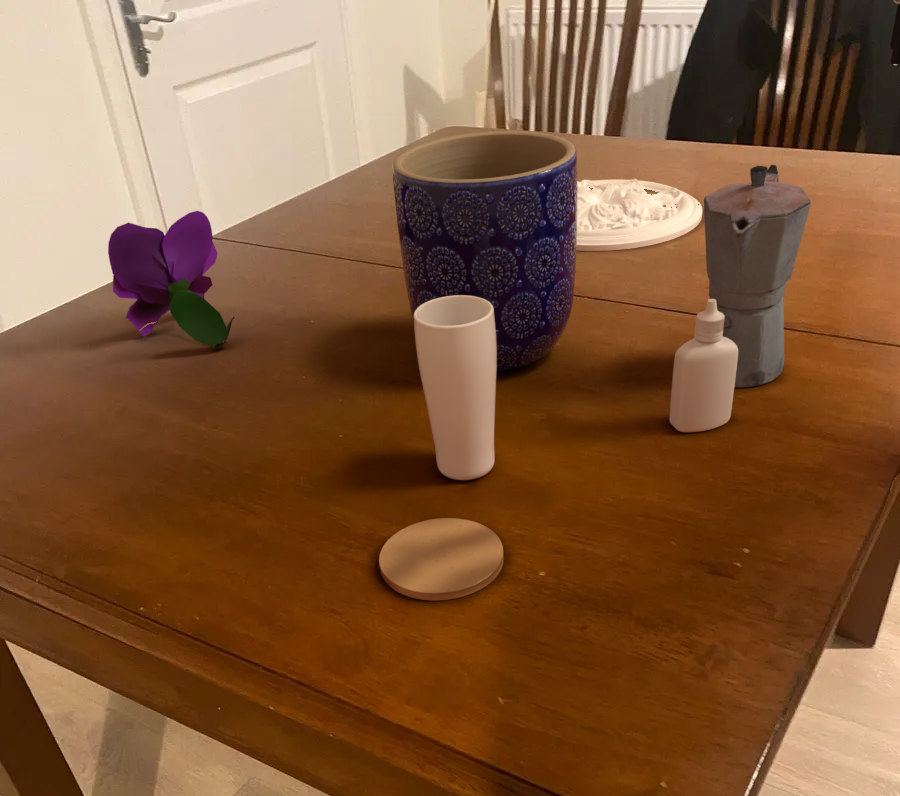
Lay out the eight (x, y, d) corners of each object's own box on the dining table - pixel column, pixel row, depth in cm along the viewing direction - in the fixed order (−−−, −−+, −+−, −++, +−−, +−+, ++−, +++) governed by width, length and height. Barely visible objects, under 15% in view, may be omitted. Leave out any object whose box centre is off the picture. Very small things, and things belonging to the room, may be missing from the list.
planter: (551, 396, 94) (548, 183, 81) (387, 380, 100) (360, 179, 87) (593, 323, 107) (597, 130, 94) (446, 312, 113) (430, 129, 100)
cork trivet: (529, 558, 73) (529, 550, 73) (435, 618, 68) (434, 610, 68) (446, 511, 79) (445, 503, 79) (355, 563, 74) (353, 556, 74)
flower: (269, 360, 118) (207, 292, 121) (281, 269, 106) (211, 195, 109) (171, 403, 111) (108, 330, 114) (172, 311, 98) (100, 231, 101)
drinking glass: (511, 452, 86) (504, 296, 76) (490, 491, 81) (480, 329, 72) (443, 445, 88) (428, 292, 78) (419, 483, 83) (400, 324, 74)
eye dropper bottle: (670, 410, 90) (680, 290, 82) (730, 413, 88) (745, 290, 81) (667, 433, 86) (677, 309, 79) (729, 435, 85) (745, 310, 77)
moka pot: (675, 396, 92) (692, 185, 79) (703, 333, 102) (723, 138, 90) (774, 406, 89) (809, 188, 76) (793, 340, 99) (826, 139, 87)
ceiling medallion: (729, 197, 138) (732, 175, 136) (656, 261, 120) (657, 236, 118) (562, 182, 151) (562, 161, 149) (474, 237, 133) (473, 215, 131)
